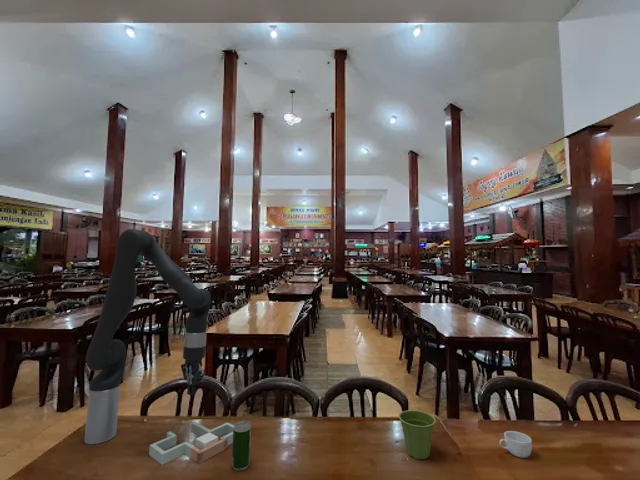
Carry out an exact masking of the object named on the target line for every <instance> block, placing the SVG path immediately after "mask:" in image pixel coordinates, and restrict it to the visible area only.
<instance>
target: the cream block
mask: <svg viewBox="0 0 640 480" xmlns="http://www.w3.org/2000/svg"><path fill="white" fill-rule="evenodd" d="M216 442H218V437H217V436H215V435H213V434H212V433H210V432H209V433H207V434H205V435H203V436H201V437H200V436H198V437H197V438H195V447H196V448H198V449H200V450H202V449H204V448H206V447H208V446H210V445H212V444H214V443H216Z"/></svg>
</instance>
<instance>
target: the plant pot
mask: <svg viewBox="0 0 640 480" xmlns="http://www.w3.org/2000/svg"><path fill="white" fill-rule="evenodd" d="M398 418H399V420H400V425H401V427H402V433H403V437H404V443H405V448H406V454H408V455H409V456H410V457H413V458H414V459H417V460H427V459H428V458H429V457H430V455H431V447H432V444H431V443H432V437H433V431H434V425H435V424H436V421H437V420H436V418H435V417H434V416H433V415H431V414H430V413H428V412H424V411H423V410H415V409H414V410H413V409H410V410H404V411H401V412H400V413H398Z"/></svg>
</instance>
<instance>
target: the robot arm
mask: <svg viewBox="0 0 640 480" xmlns="http://www.w3.org/2000/svg"><path fill="white" fill-rule="evenodd" d="M115 249H116V250H115V257H114V261H113V262H114V263H113V267H112V271H111V275H110V280H109V282H108V286H107V291H106V292H105V293H106V294H105V297H104V300H103V305H102V309H101V312H100V316H99V318H98V323H97V325H96V328H95V331H94V334H93V336H92V339H91V341H90V344H89V346H88V348H87V351H86V357H85V363H86V366H87V368H88V369H89V370H90V371H92V372H93V371H100V372H99V373H98V374H97V375H96V376H94V377H93V378H92V379H90V382H89V388H88V399H87V400H88V401H87V409H86V417H85V418H86V420H85V432H84V439H83V442H84V443H85V444H86V445H98V444H101V443H105V442H107V441H108V442H109V440H111V439H113V438H114V437H115V436H116V435H117V427H118V419H119V418H118V414H119V403H120V402H119V401H120V393H121V392H120V391H121V383H122V382H121V381H122V379H123V377H124V373H125V366H126V357H127V348H126V345H125V343H124V341H123V340H121V339H117V338H116V339H113V338H114V336H115V333H116V331H117V330H118V328H119V326H120V325H121V324H122V323H123V322H124V320H125V319H126V318H127V317H128V315H129V314H130V312H131V311H132V309H133V307H134V303H135V300H136V296H137V293H138V292H137V290H138V287H137V281H136V276H135V275H136V274H135V268H136V264H137V260H138V258H139V255H141V256H142V257H143V258H145V259H146V260H148V261H149V262H151V264H152V265H153V266H154V267H155V269H156V270H157V272H158V274H159V276H160V277H161V279H162V281H164V282H165V283H166V284H167V285H168V286H169V287H170V288H171V289H172V290H174V291H175V292H176V294H177V295H178V297H179V298H180V299H181V300H182V302H183V303H184V304H185V305H186V306H187V307H189V309H191V310H190V314H189V315H188V316H187V319H186V324H185V333H184V339H183V348H182V349H183V350H182V358H183V360H184V363H181V364H180V368H181V369H180V370H181V372H182V376H183V380H184V381H186V383H187V387H186V388H187V390H186V394H187V395H188V396H192V395H195V394H196V386H197V384H199V383H200V382H201V381H202V379H203V377H204V376H205V375H206V372H207V370H206V369H203V359H204V358H205V357H206V352H207V351H206V347H207V327H208V315H209V313H210V309H211V304H212V296H211V293H210V291H209V290H208V289H206V288H199V287H197V286H196V285H195V283H193V279H192V277H191V276H189V274H188V273H187V272H186V271H184V270H183V269H182V268H181V267H180V266H179V265H178V264H177V263H175V262H174V261H173V259H171V258H170V256H169V255H168V254H167V253H166V252H165V251H164V250H163V248H162V247H161V245H159V243H158V242H157V240H156V239H155V238H154V236H153V235H152V234H151V233H149V232H148V231H146V230H141V229H134V228H128V229H126V230H124V231H122V232H121V234H120V235H119V237H118V240H117V244H116V248H115Z"/></svg>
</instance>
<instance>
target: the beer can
mask: <svg viewBox="0 0 640 480" xmlns="http://www.w3.org/2000/svg"><path fill="white" fill-rule="evenodd" d="M233 425H234V428H233V443H232V445H231V446H232V447H231V448H232V449H231V451H232V452H231V467H232V469H233V471H238V472H239V471H241V472H242V471H244V470H246V469H248V467H249V465H250V462H251V434H252V426H251V422H250V421H249V420H239V421H236V422H235V423H234V424H233Z"/></svg>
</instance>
